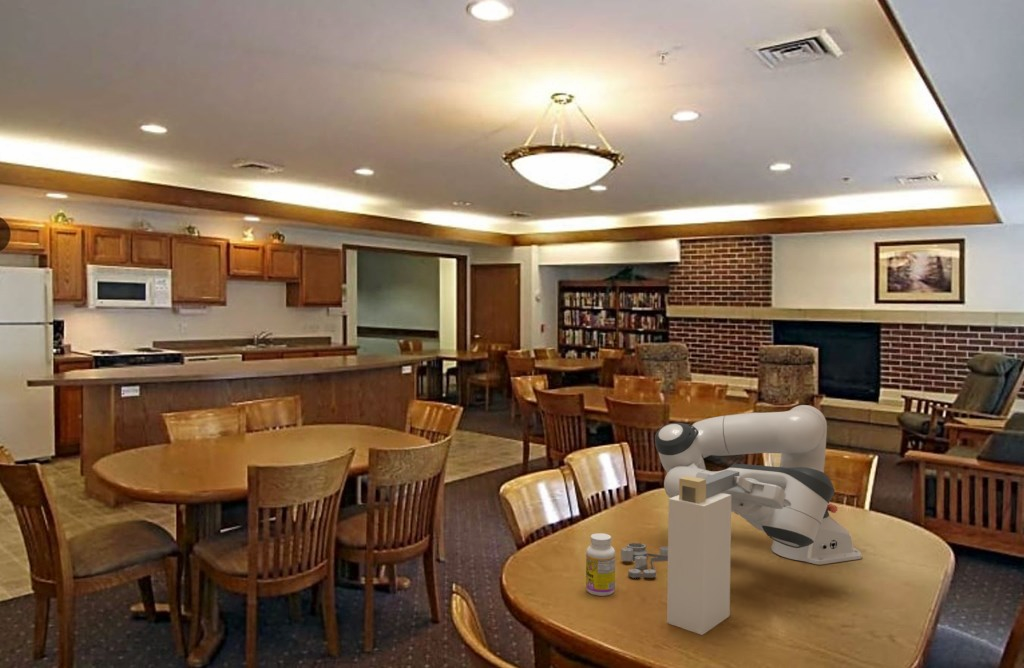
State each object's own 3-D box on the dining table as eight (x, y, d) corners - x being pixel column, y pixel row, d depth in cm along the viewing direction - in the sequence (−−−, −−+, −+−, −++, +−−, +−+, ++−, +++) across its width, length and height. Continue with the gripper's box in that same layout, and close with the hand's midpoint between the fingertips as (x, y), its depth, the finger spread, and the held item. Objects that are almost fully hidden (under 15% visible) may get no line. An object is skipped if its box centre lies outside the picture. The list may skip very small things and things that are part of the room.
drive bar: (723, 482, 160) (723, 462, 160) (742, 485, 157) (742, 466, 157) (679, 499, 145) (679, 478, 145) (698, 503, 142) (698, 481, 142)
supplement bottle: (583, 586, 166) (583, 531, 165) (611, 585, 166) (611, 531, 166) (588, 597, 159) (589, 541, 159) (617, 596, 160) (618, 540, 159)
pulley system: (595, 571, 178) (645, 585, 167) (595, 553, 178) (645, 565, 167) (656, 549, 197) (704, 560, 186) (656, 532, 197) (704, 542, 187)
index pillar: (695, 604, 156) (697, 487, 155) (730, 615, 150) (732, 494, 149) (667, 622, 147) (668, 498, 146) (702, 635, 141) (704, 506, 140)
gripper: (790, 520, 157) (769, 500, 148) (706, 503, 171) (681, 483, 162) (796, 493, 159) (775, 471, 150) (712, 478, 173) (688, 457, 164)
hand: (726, 477), depth 156 cm, fingers closed on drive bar, 3 cm apart
